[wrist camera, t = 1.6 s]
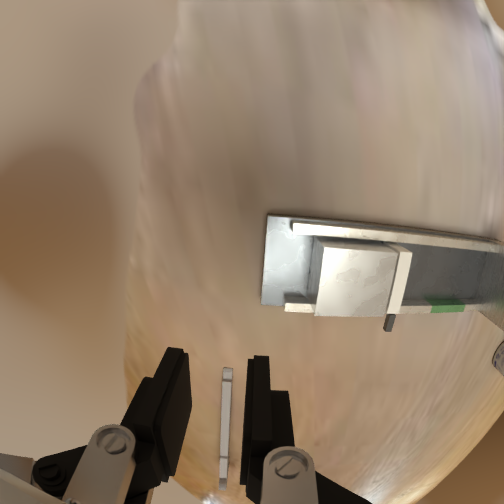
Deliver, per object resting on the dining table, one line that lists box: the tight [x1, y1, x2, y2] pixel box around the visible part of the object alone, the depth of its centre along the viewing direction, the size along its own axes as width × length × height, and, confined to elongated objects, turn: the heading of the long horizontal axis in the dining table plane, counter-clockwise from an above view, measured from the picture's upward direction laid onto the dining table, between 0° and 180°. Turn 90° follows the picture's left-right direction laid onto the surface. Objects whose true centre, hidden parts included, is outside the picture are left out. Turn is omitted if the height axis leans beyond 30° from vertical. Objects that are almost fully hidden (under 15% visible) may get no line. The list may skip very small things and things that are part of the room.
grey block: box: [307, 236, 398, 317], centre depth 23 cm, size 5×6×4 cm
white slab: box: [383, 241, 412, 332], centre depth 23 cm, size 7×1×4 cm, turn 177°
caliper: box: [219, 368, 233, 490], centre depth 30 cm, size 20×1×6 cm, turn 176°
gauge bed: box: [261, 214, 504, 331], centre depth 23 cm, size 8×28×8 cm, turn 87°
